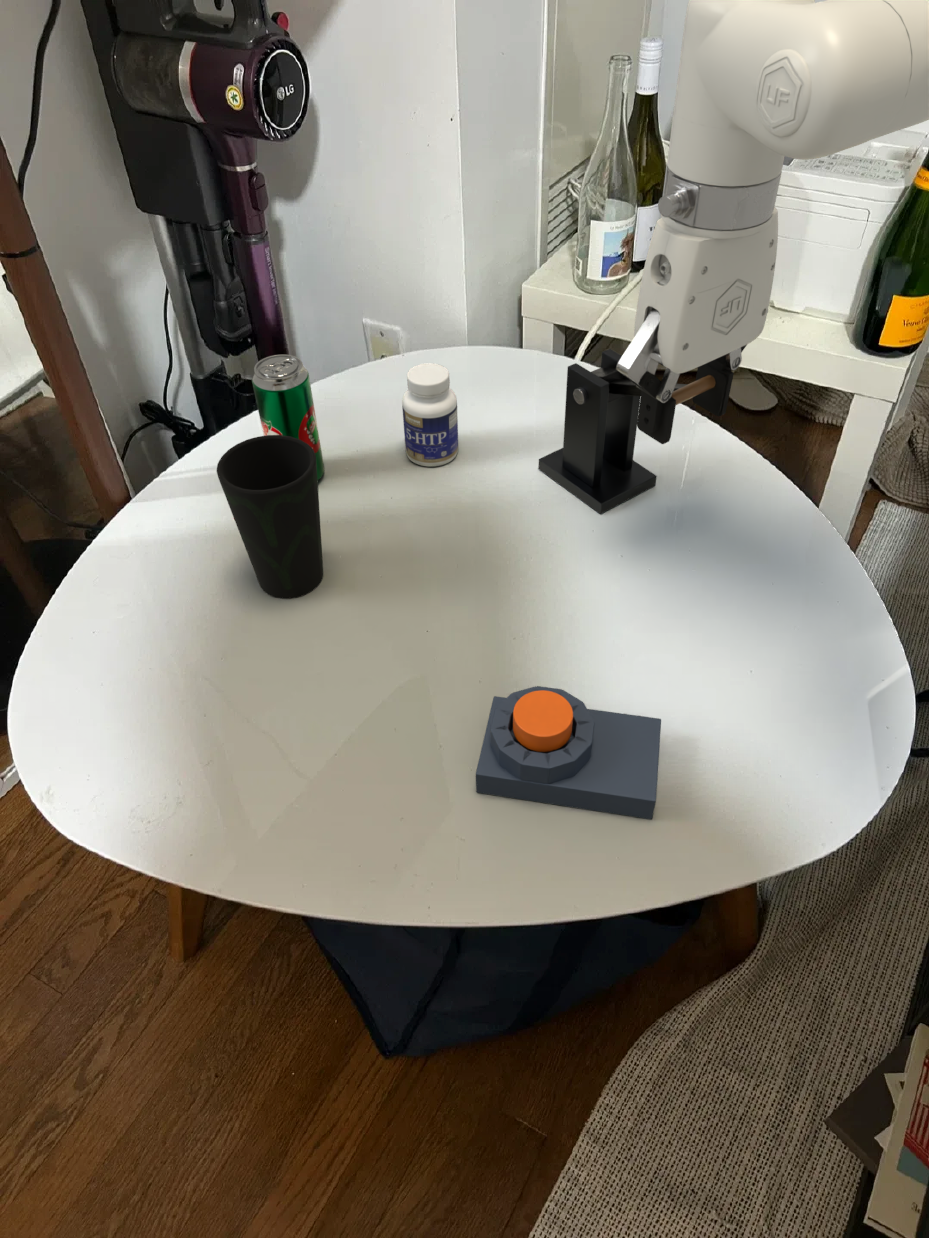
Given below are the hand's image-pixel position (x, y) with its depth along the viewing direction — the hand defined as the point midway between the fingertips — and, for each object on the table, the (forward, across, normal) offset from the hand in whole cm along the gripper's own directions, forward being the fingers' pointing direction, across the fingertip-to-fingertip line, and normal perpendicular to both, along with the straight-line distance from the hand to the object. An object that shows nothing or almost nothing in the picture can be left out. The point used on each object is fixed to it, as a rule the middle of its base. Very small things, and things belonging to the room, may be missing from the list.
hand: (681, 420), depth 75 cm
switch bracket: (+11, 0, +9) cm, 14 cm away
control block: (+11, -24, -15) cm, 30 cm away
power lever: (+1, 0, +5) cm, 5 cm away
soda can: (+12, -23, +27) cm, 37 cm away
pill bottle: (+12, -10, +22) cm, 27 cm away
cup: (+11, -30, +15) cm, 35 cm away
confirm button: (+7, -25, -13) cm, 30 cm away
